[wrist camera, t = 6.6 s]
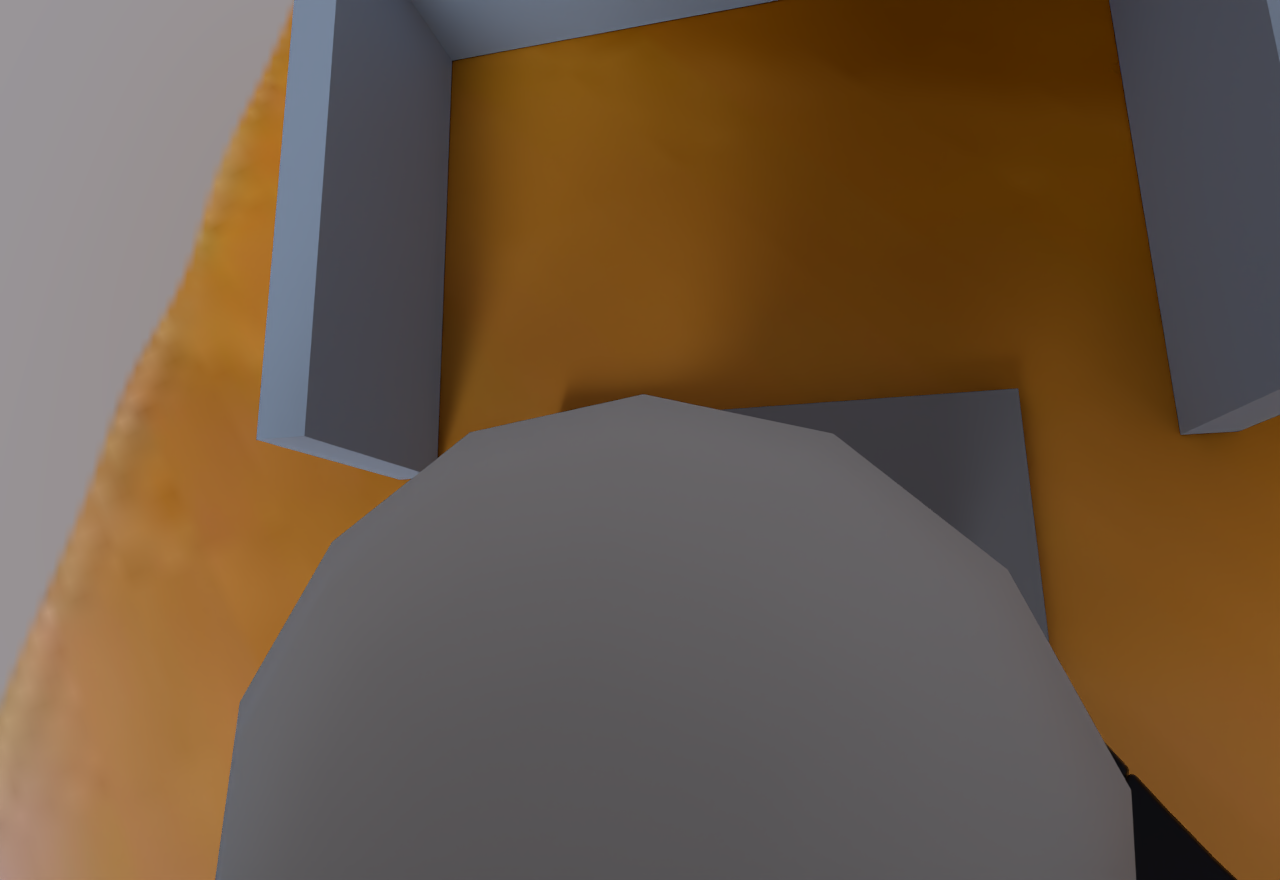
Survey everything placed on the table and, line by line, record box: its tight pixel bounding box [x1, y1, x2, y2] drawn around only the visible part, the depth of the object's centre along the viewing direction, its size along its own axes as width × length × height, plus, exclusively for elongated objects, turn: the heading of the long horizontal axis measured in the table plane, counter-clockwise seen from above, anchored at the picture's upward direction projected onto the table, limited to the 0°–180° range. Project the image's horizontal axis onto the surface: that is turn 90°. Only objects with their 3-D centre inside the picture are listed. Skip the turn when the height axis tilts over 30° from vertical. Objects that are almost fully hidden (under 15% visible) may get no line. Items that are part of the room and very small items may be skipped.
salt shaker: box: [215, 394, 1136, 880], centre depth 9 cm, size 6×6×13 cm
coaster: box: [722, 388, 1049, 643], centre depth 16 cm, size 10×10×1 cm
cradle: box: [256, 0, 1280, 480], centre depth 16 cm, size 12×18×5 cm
